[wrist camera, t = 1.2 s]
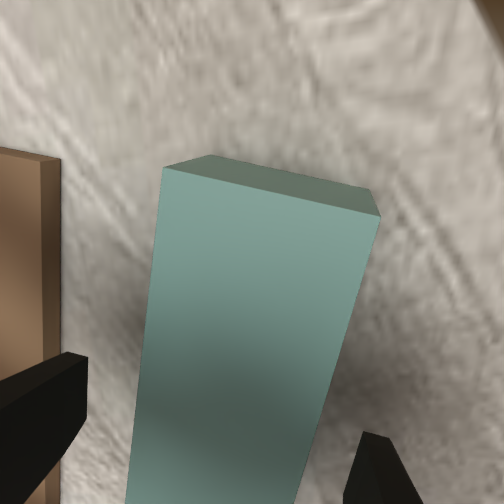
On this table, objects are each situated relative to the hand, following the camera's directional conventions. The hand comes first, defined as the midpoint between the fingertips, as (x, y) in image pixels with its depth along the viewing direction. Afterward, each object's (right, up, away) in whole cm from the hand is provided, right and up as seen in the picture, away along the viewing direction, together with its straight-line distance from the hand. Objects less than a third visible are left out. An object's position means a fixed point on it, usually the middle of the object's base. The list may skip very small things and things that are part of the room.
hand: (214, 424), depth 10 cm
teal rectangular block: (+1, +1, +5) cm, 5 cm away
